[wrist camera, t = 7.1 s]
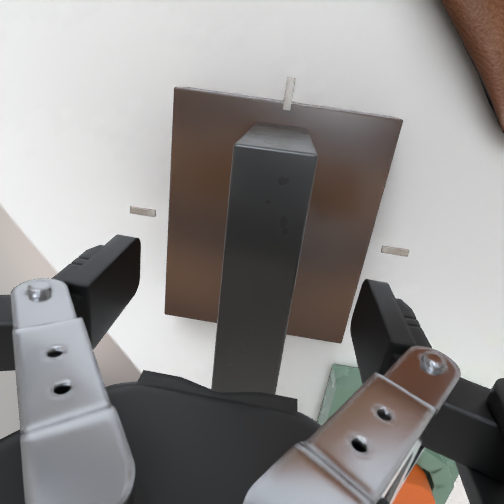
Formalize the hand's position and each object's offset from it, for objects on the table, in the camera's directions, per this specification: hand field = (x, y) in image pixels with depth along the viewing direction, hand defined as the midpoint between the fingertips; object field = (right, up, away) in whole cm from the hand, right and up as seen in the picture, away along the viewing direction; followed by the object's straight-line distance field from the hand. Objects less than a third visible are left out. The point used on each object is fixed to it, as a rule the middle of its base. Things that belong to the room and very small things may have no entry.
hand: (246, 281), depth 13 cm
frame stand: (+1, +3, +9) cm, 10 cm away
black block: (+1, +2, +7) cm, 7 cm away
